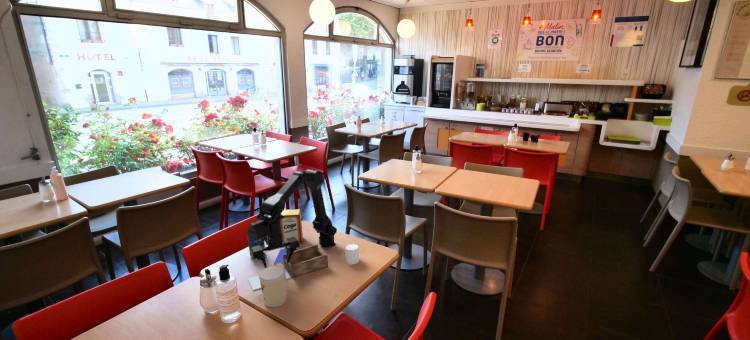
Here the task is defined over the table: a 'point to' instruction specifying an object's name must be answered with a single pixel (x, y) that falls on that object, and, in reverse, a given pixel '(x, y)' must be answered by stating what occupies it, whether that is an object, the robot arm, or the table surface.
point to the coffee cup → (273, 285)
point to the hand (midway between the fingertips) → (277, 266)
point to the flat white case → (256, 282)
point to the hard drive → (280, 257)
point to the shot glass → (352, 253)
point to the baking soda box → (291, 225)
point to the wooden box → (305, 261)
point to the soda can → (255, 244)
